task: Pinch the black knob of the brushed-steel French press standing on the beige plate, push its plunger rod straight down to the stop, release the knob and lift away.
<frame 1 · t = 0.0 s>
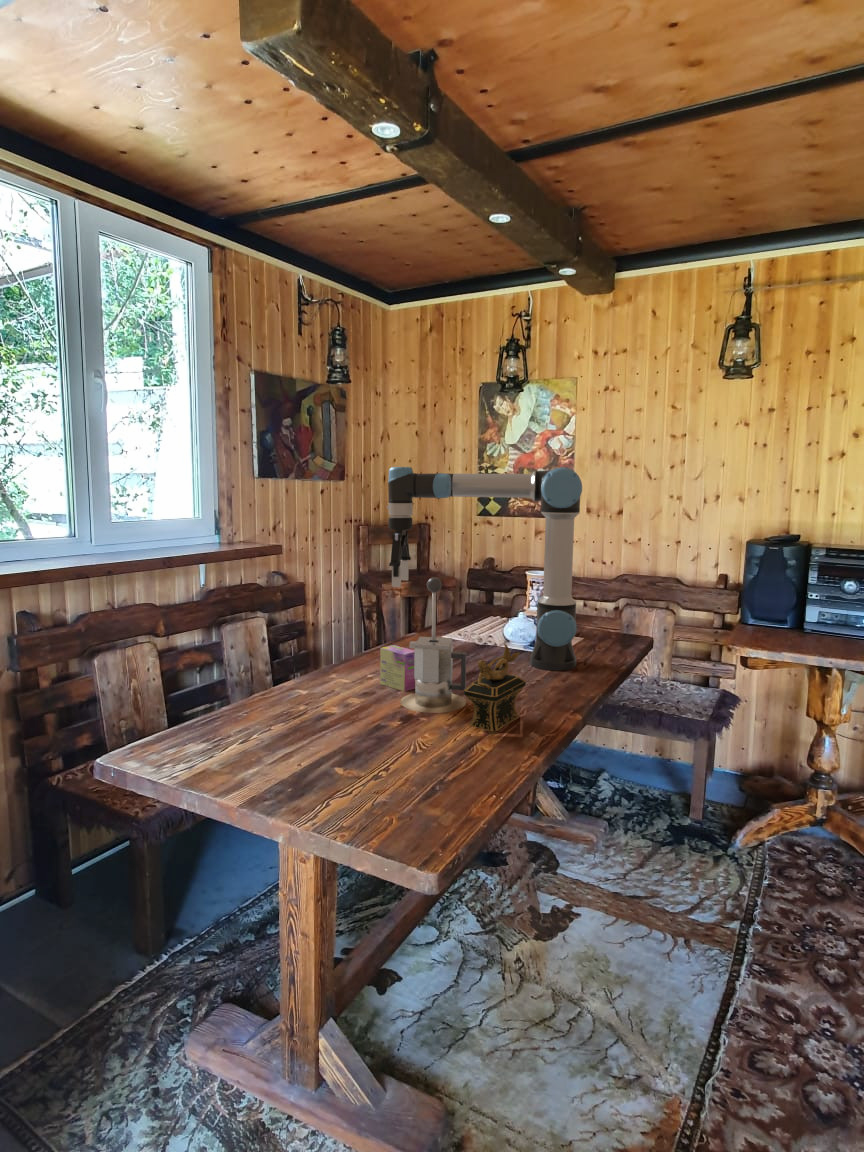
hand: (400, 583, 222), 28 cm above the table, fingers open, 13 cm apart
box: (399, 688, 207), on the table
carafe: (433, 701, 192), resting on beige plate
beige plate: (433, 704, 192), on the table
plunger: (434, 608, 188), point 27 cm above the table, slide at 0.0 cm
decorative box: (498, 722, 179), on the table
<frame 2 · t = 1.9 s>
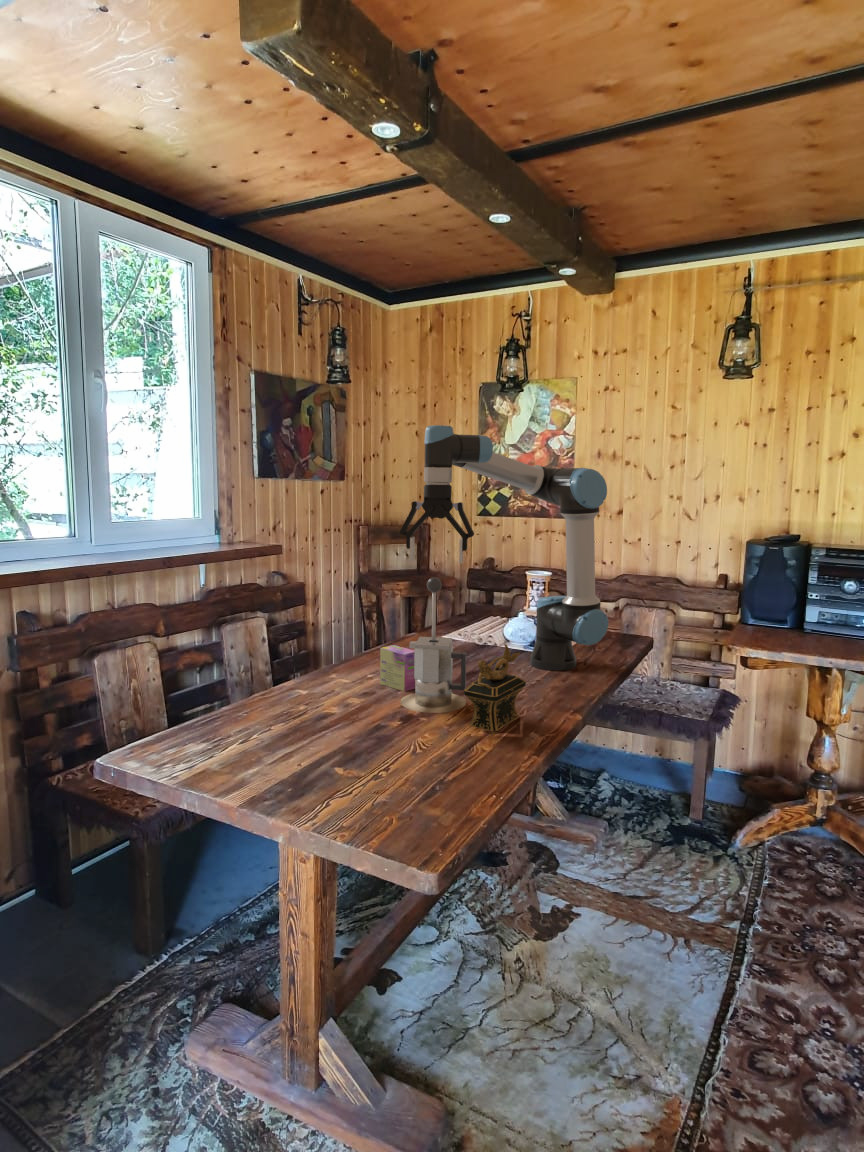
hand: (436, 561, 192), 39 cm above the table, fingers open, 13 cm apart
nothing on the table moved.
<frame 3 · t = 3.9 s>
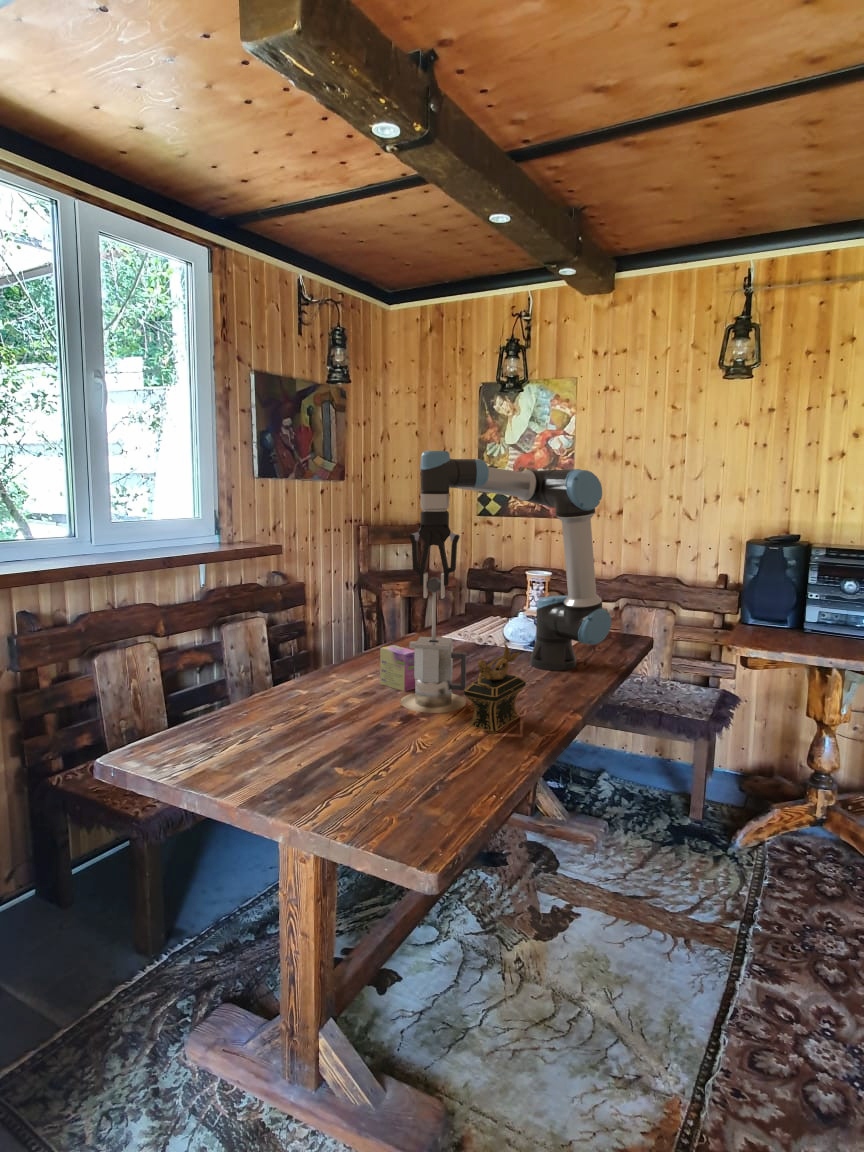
hand: (434, 597, 188), 30 cm above the table, fingers closed on plunger, 4 cm apart
plunger: (434, 608, 188), point 27 cm above the table, slide at 0.0 cm, touching gripper
everything else where it was.
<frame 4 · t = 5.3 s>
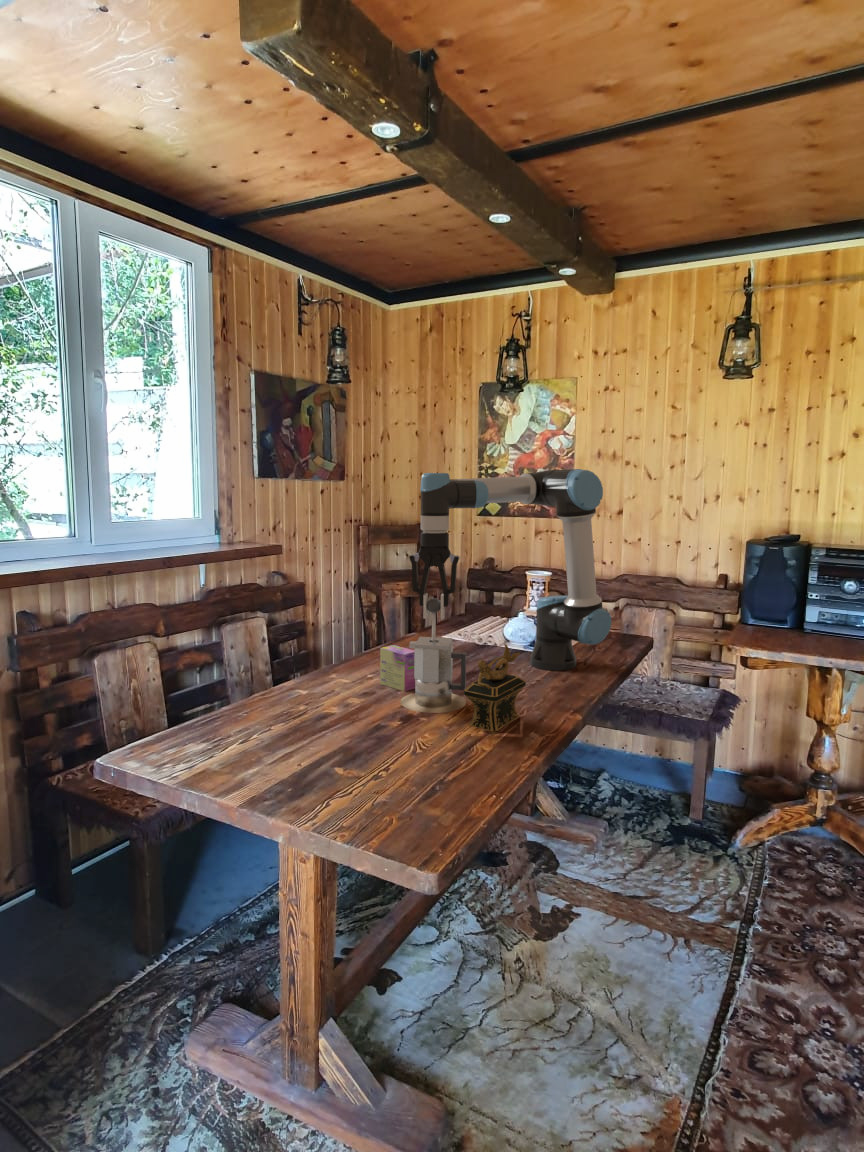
hand: (433, 617, 189), 24 cm above the table, fingers closed on plunger, 4 cm apart
plunger: (433, 629, 189), point 21 cm above the table, slide at 5.6 cm, touching gripper
everything else where it was.
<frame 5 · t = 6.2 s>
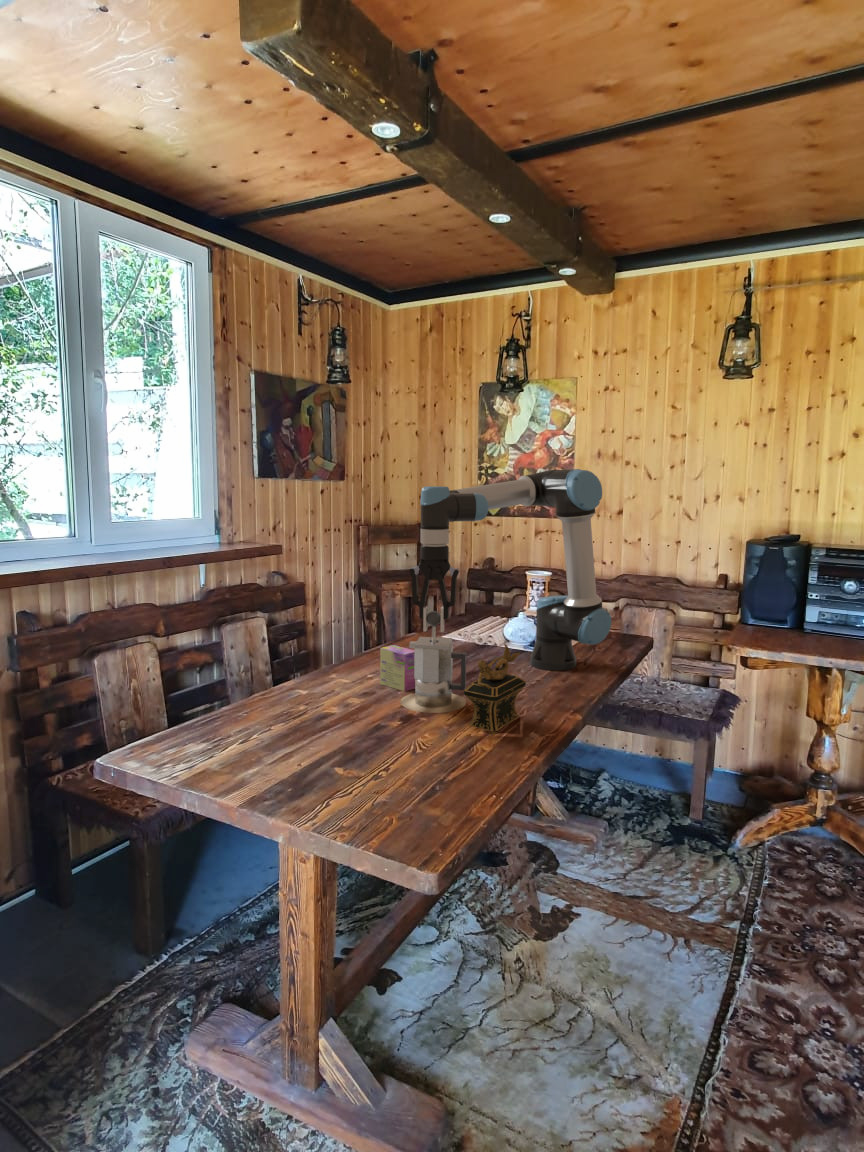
hand: (433, 630, 189), 21 cm above the table, fingers closed on plunger, 4 cm apart
plunger: (433, 641, 190), point 18 cm above the table, slide at 9.2 cm, touching gripper
everything else where it was.
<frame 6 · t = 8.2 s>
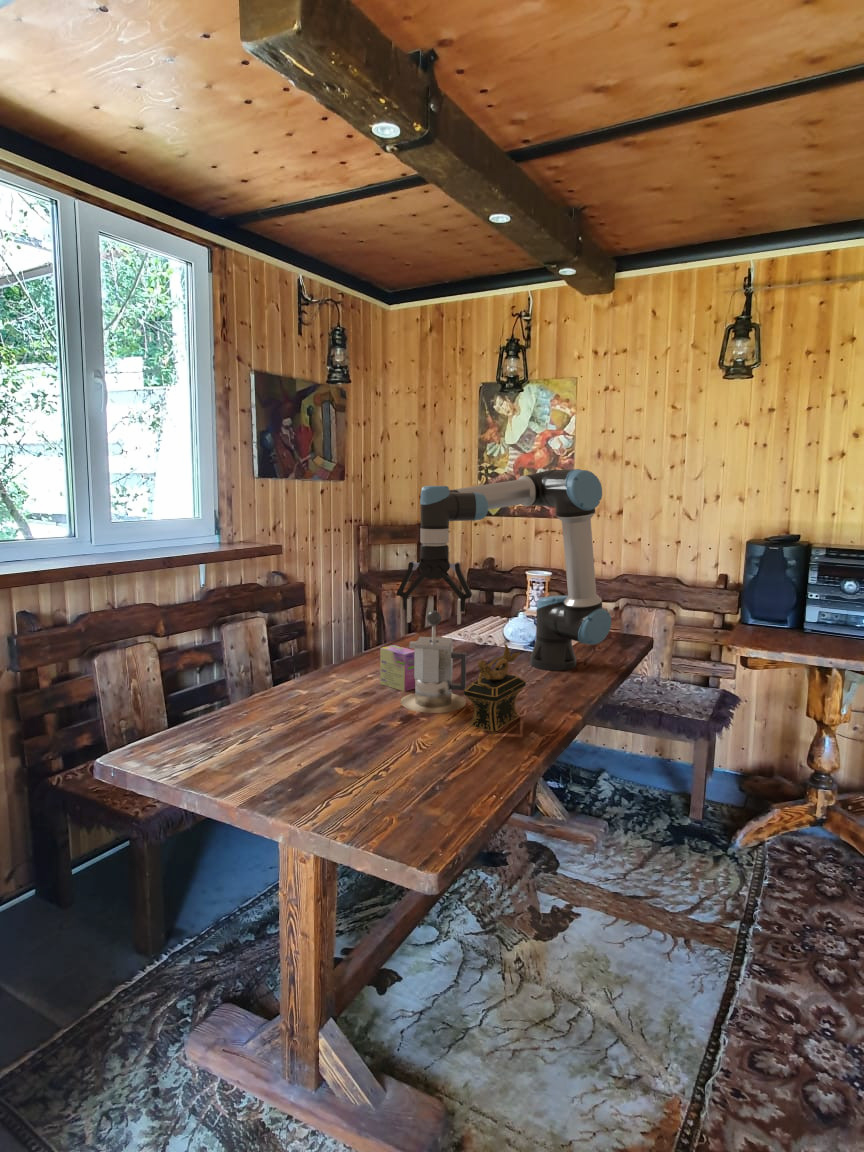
hand: (434, 622, 189), 23 cm above the table, fingers open, 13 cm apart
plunger: (433, 641, 190), point 18 cm above the table, slide at 9.1 cm
everything else where it was.
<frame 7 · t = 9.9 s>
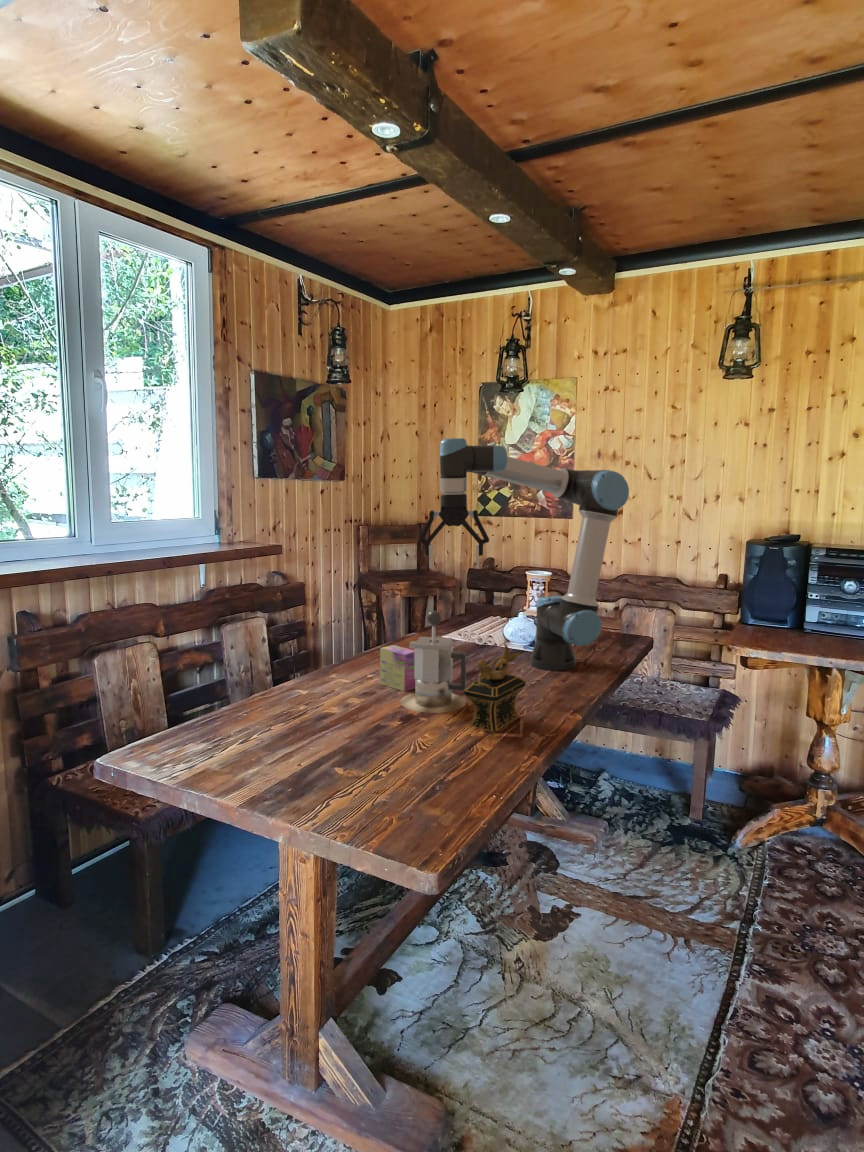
hand: (454, 567, 203), 36 cm above the table, fingers open, 13 cm apart
nothing on the table moved.
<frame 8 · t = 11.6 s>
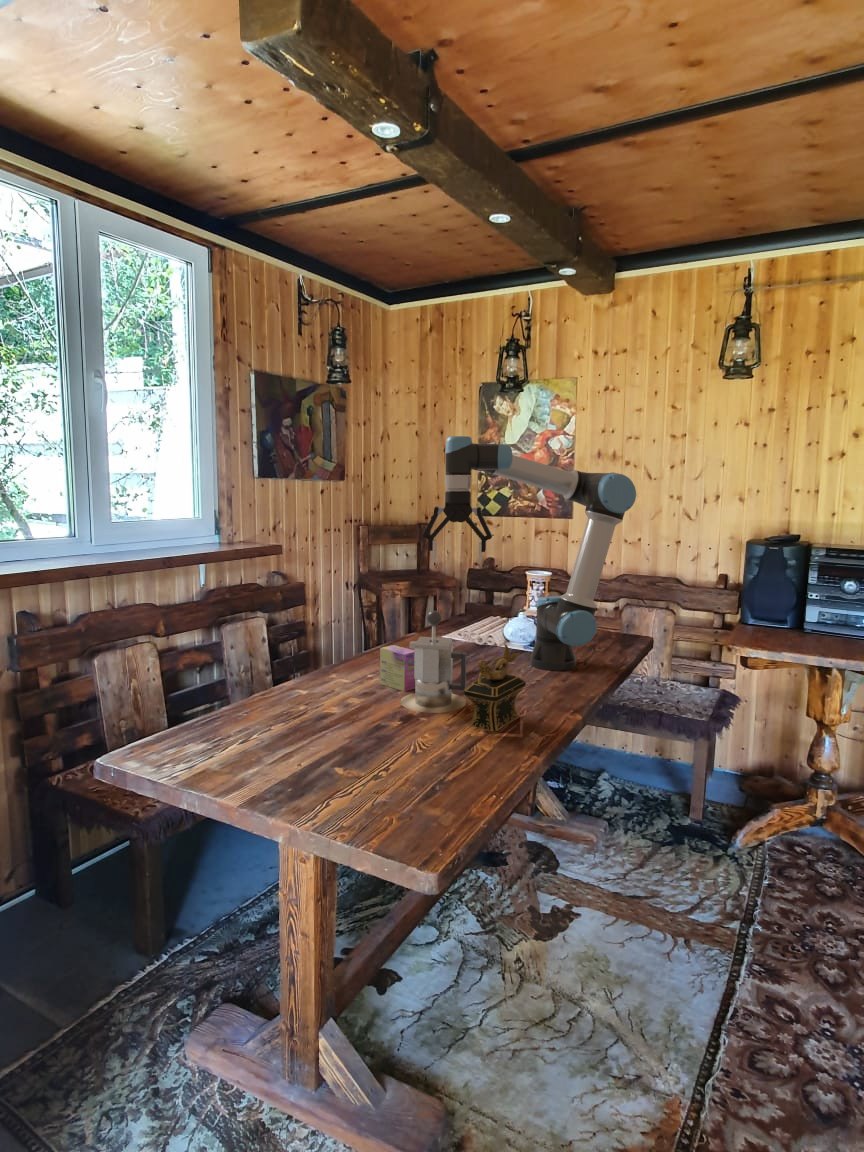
hand: (457, 562, 207), 37 cm above the table, fingers open, 13 cm apart
nothing on the table moved.
at the end: plunger slide at 9.1 cm; the gripper is holding nothing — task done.
